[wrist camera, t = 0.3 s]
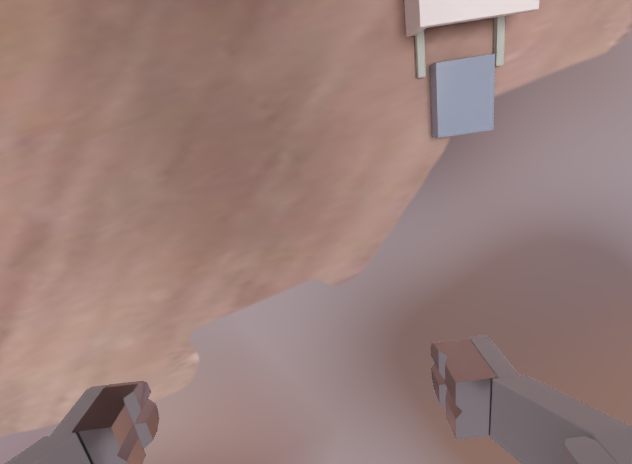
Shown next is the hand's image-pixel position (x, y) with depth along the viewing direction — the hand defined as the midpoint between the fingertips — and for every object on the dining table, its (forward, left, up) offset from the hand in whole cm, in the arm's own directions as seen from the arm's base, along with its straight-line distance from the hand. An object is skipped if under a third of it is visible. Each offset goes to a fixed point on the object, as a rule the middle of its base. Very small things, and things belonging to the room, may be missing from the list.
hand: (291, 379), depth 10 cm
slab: (-5, +24, -47) cm, 53 cm away
